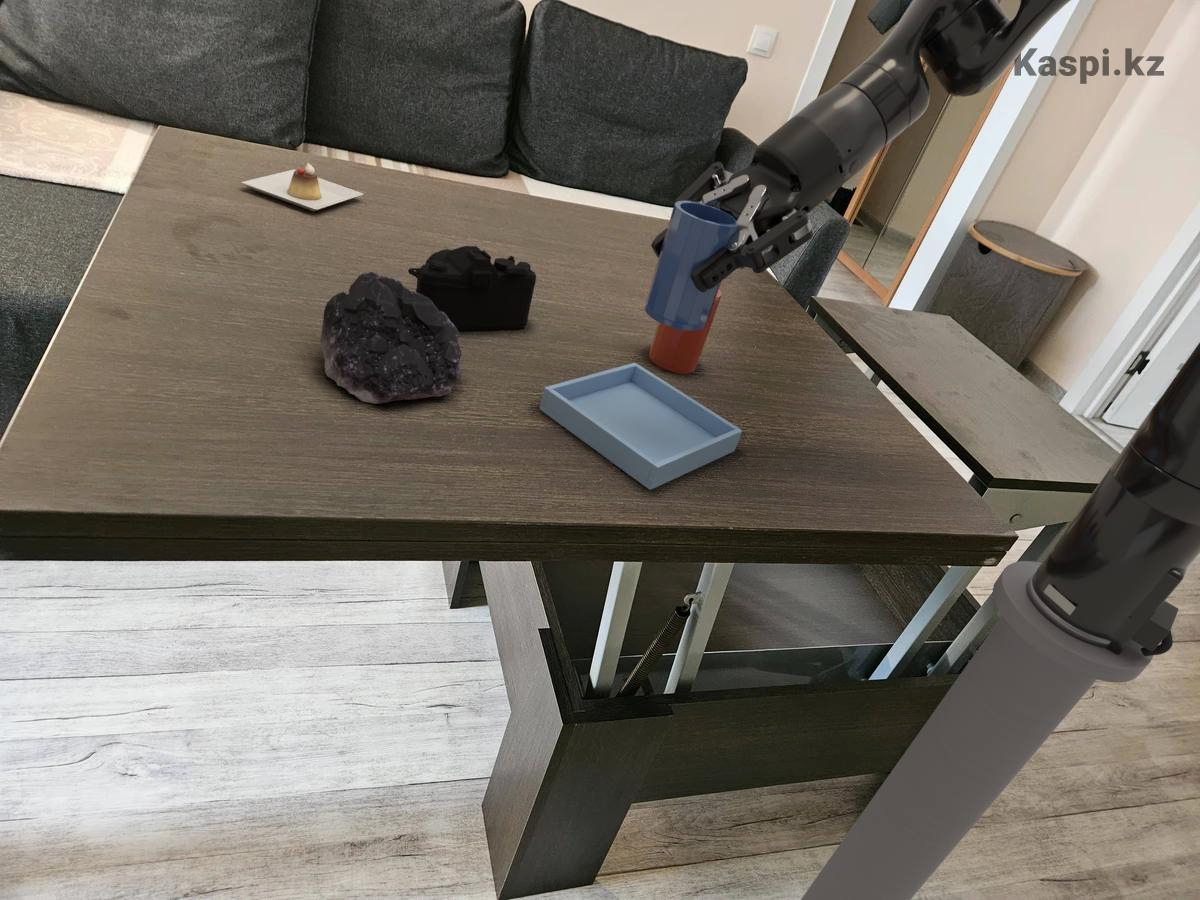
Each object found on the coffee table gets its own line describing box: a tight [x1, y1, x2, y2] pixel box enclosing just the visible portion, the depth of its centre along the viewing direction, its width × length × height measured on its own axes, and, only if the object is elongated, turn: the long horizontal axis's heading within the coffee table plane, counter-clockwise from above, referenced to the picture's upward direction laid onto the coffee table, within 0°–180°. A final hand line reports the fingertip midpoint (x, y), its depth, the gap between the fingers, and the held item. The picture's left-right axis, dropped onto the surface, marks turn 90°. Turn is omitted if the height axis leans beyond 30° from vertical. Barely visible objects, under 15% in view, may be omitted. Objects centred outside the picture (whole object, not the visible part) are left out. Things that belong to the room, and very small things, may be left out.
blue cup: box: [644, 200, 738, 331], centre depth 72 cm, size 6×6×10 cm
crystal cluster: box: [320, 271, 462, 405], centre depth 77 cm, size 13×14×10 cm
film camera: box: [407, 245, 537, 332], centre depth 92 cm, size 15×10×9 cm, turn 121°
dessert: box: [241, 162, 365, 212], centre depth 113 cm, size 12×12×5 cm
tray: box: [539, 362, 743, 491], centre depth 81 cm, size 15×14×3 cm
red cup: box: [648, 289, 723, 375], centre depth 95 cm, size 6×6×10 cm
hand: (675, 268), depth 71 cm, fingers closed on blue cup, 6 cm apart
